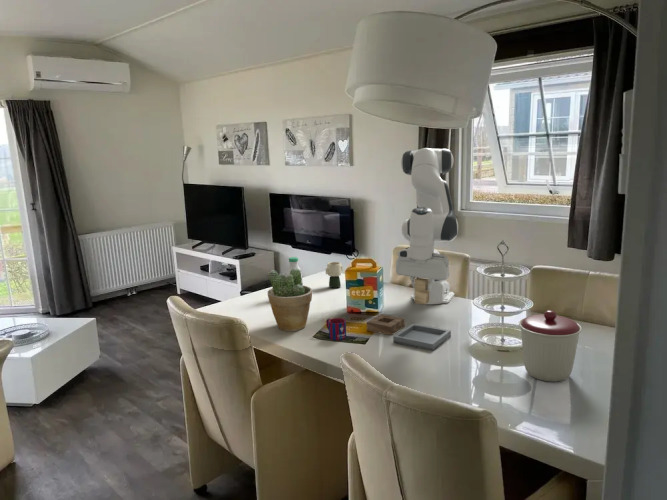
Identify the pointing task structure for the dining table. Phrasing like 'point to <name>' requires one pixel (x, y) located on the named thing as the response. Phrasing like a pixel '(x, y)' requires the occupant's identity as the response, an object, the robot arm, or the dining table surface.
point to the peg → (421, 291)
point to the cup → (336, 328)
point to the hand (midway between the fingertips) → (422, 289)
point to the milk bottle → (293, 265)
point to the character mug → (334, 273)
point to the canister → (549, 345)
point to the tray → (422, 336)
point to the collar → (386, 324)
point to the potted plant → (289, 300)
